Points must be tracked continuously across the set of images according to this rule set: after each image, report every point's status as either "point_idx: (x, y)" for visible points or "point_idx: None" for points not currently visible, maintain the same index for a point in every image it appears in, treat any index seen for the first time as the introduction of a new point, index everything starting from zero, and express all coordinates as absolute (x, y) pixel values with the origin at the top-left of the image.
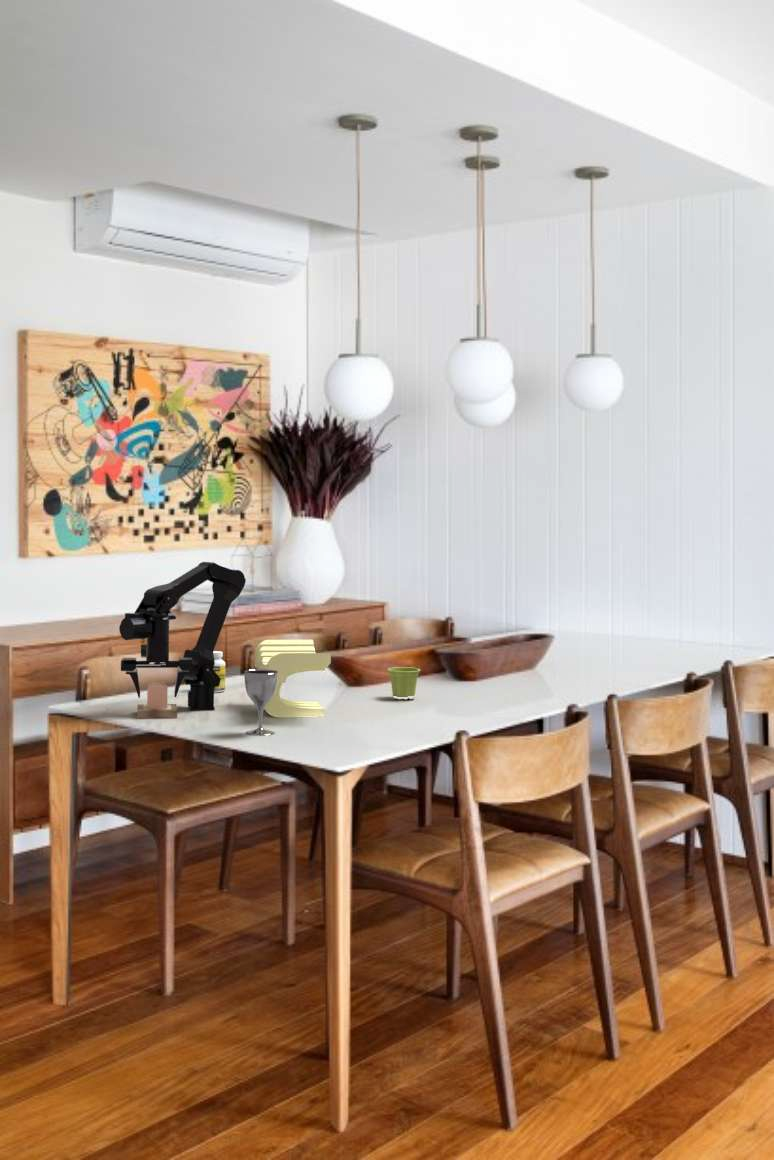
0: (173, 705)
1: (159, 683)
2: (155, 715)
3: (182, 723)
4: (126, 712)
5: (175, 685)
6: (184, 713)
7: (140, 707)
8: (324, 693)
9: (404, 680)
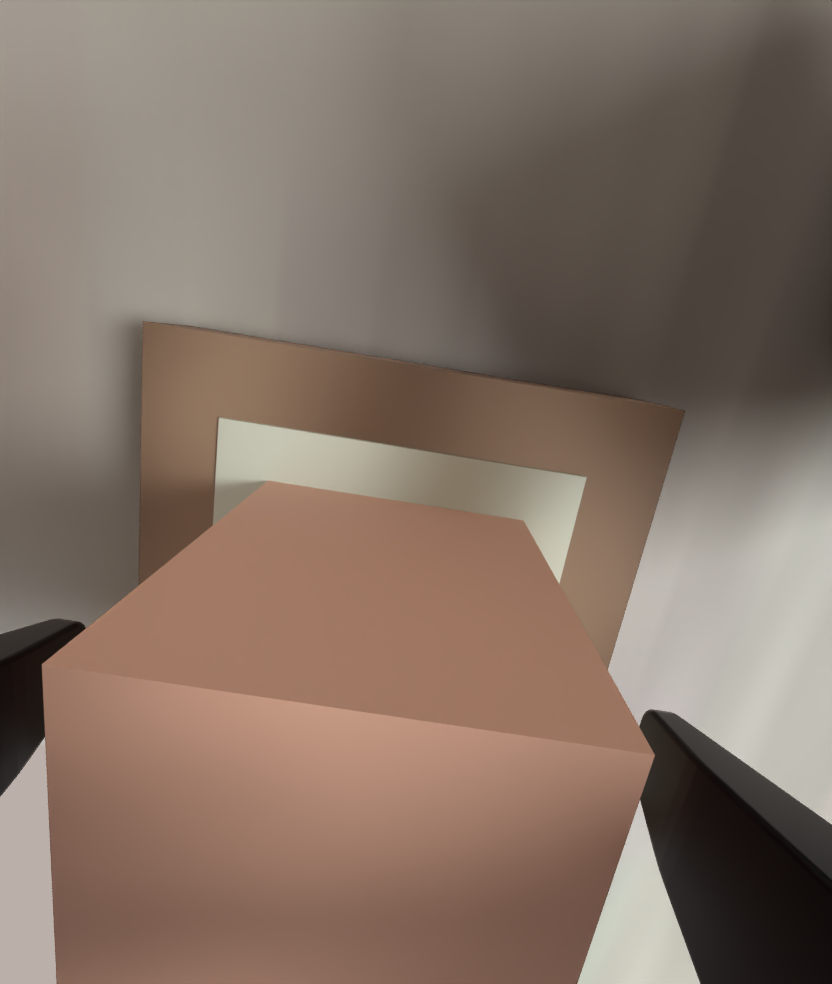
0: (612, 524)
1: (389, 875)
2: None
3: None
4: (65, 324)
5: (768, 959)
6: (694, 537)
7: None
8: None
9: None
